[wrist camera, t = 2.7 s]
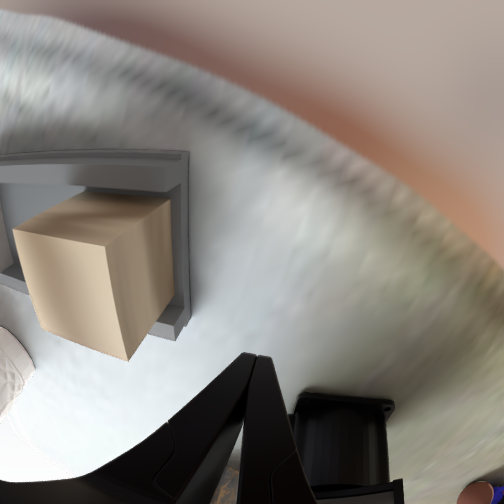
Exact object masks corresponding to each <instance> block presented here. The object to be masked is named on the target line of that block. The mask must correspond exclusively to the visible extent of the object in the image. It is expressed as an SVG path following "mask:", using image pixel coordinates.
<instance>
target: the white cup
mask: <svg viewBox="0 0 504 504" xmlns="http://www.w3.org/2000/svg"><path fill="white" fill-rule="evenodd" d="M34 371H35V367H34V364H33V362H32V359H31V358H30V356H29V355H28V353H27V351H26V350H25V348H24V347H23V346H22V345H21V344H20V342H19V341H18V340H17V339H16V338H15V337H14V336H13V335H12V334H11V333H10V332H9V331H8V330H6V329H5V328H3V327H1V326H0V422H1V421H2V419H3V418H4V417H5V415H6V414H7V412H8V411H9V409H10V408H11V407H12V405H13V404H14V402H15V401H16V399H17V398H18V396H19V395H20V393H21V392H22V390H23V387H24V386H25V385H26V384H27V382H28V381H29V380H30V378H31V377H32V376H33V374H34Z"/></svg>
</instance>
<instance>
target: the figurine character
mask: <svg viewBox="0 0 504 504" xmlns="http://www.w3.org/2000/svg"><path fill="white" fill-rule="evenodd" d="M457 504H504V484H500V485H499V487H492V486H491V485H490V484H489V483H488V482H485V481H477V482H474V483H472V484H470V485H468V486H467V487H466V488H465V489H464V490H463V491H462V492H461V493H460V495H459V497H458V500H457Z"/></svg>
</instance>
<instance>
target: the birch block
mask: <svg viewBox="0 0 504 504" xmlns="http://www.w3.org/2000/svg"><path fill="white" fill-rule="evenodd" d="M13 234H14V239H15V243H16V247H17V251H18V255H19V259H20V263H21V267H22V270H23V274H24V277H25V281H26V284H27V287H28V290H29V294H30V297H31V300H32V303H33V306H34V309H35V311H36V314H37V317H38V320H39V323H40V325H41V328H42V329H44V330H46V331H48V332H51V333H53V334H55V335H58V336H60V337H63V338H65V339H67V340H70V341H72V342H75V343H78V344H80V345H83V346H85V347H88V348H91V349H93V350H96V351H99V352H102V353H104V354H107V355H110V356H113V357H116V358H119V359H122V360H125V361H129V360H130V358H131V357H132V355H133V354H134V352H135V351H136V350H137V348H138V347H139V345H140V344H141V342H142V341H143V339H144V338H145V336H146V335H147V334H148V332H149V331H150V329H151V328H152V326H153V325H154V323H155V322H156V321H157V319H158V318H159V316H160V315H161V313H162V312H163V311H164V309H165V308H166V306H167V305H168V304H169V302H170V301H171V299H172V298H173V296H174V295H175V289H174V274H173V256H172V233H171V199H168V198H158V197H148V196H137V195H126V194H114V193H101V192H88V191H83V192H81V193H79V194H77V195H75V196H73V197H71V198H69V199H67V200H65V201H63V202H61V203H59V204H57V205H55V206H53V207H51V208H49V209H48V210H46V211H44V212H42V213H40V214H38V215H36V216H34V217H33V218H31V219H29V220H27V221H25V222H24V223H22V224H20V225H18V226H17V227H15V228H13Z"/></svg>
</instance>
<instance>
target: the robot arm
mask: <svg viewBox="0 0 504 504" xmlns="http://www.w3.org/2000/svg"><path fill="white" fill-rule="evenodd" d="M394 409H395V405H394V401H392V400H380V399H365V398H353V397H342V396H333V395H324V394H316V393H308V392H303V393H300V394H299V395H298V397H297V400H296V403H295V407H294V410H293V413H292V414H287V411H286V407H285V404H284V400H283V396H282V393H281V389H280V386H279V382H278V378H277V375H276V371H275V368H274V364H273V360H272V358H271V357H269V356H263V355H258V356H256V354H252V353H246V352H243V353H241V354H240V355H239V356H238V357H237V358H236V359H235V360H234V361H233V362H232V363H231V364H230V365H229V366H228V367H227V368H226V369H225V370H223V371H222V372H221V373H220V374H219V375H218V376H217V377H216V378H215V379H214V380H213V381H212V382H211V383H209V384H208V385H207V386H206V387H205V388H204V389H203V390H202V391H201V392H200V393H199V394H197V395H196V396H195V397H194V398H193V399H192V400H191V401H190V402H188V403H187V404H186V405H185V406H184V407H183V408H182V409H181V410H179V411H178V412H177V413H176V414H175V415H174V416H173V417H171V418H170V419H169V420H168V423H167V422H166V423H164V424H163V425H162V426H161V427H160V428H159V429H157V430H156V431H155V432H154V433H152V434H151V435H150V436H149V437H147V438H146V439H145V440H143V441H142V442H140V443H139V444H137V445H136V446H134V447H133V448H131V449H130V450H128V451H127V452H125V453H123V454H122V455H120V456H118V457H117V458H115V459H113V460H112V461H110V462H108V463H107V464H105V465H103V466H101V467H100V468H98V469H96V470H94V471H92V472H91V473H88V474H86V475H83V476H80V477H76V478H71V479H62V480H51V481H38V482H6V481H2V480H0V504H210V502H211V499H212V497H213V495H214V493H215V490H216V488H217V486H218V483H219V481H220V479H221V476H222V474H223V472H224V469H225V467H226V465H227V462H228V460H229V458H230V455H231V453H232V450H233V448H234V445H235V443H236V440H237V438H238V436H239V433H240V431H241V428H242V425H243V422H244V426H243V436H242V446H241V456H240V466H239V476H238V486H237V495H236V504H404V491H403V479H402V478H401V479H396V480H393V482H390V477H389V458H388V443H387V431H386V421H387V420H388V418H389V417H390V415H391V414H392V412H393V411H394Z"/></svg>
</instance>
